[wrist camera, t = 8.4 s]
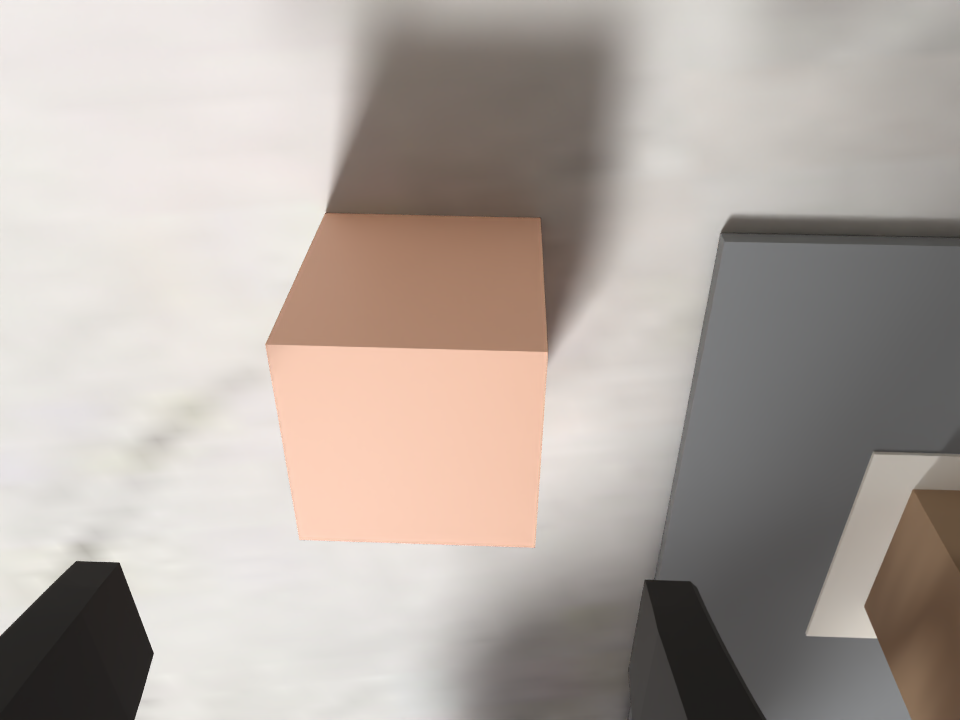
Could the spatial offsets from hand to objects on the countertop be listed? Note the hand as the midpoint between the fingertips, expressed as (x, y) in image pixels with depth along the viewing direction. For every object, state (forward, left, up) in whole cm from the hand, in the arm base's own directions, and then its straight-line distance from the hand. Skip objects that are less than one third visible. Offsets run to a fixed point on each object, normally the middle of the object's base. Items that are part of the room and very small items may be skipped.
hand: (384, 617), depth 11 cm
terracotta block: (0, 0, -8) cm, 8 cm away
